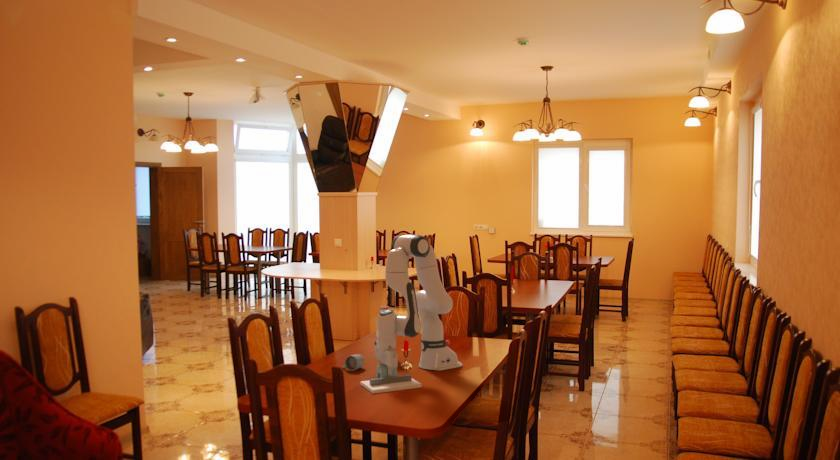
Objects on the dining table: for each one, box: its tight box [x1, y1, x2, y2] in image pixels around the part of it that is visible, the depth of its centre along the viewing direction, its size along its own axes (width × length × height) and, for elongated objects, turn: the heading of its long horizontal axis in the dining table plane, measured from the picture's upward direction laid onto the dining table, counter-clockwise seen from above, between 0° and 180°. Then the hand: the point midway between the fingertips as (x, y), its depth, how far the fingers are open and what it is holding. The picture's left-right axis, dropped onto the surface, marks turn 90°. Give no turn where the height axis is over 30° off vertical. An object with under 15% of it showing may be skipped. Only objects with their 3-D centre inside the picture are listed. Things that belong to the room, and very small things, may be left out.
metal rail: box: [369, 373, 413, 386], centre depth 314 cm, size 20×2×2 cm, turn 115°
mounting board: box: [359, 378, 423, 394], centre depth 314 cm, size 24×16×2 cm, turn 115°
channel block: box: [375, 364, 398, 378], centre depth 327 cm, size 8×6×6 cm
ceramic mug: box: [342, 353, 365, 372], centre depth 346 cm, size 11×8×8 cm
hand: (386, 372), depth 327 cm, fingers closed on channel block, 6 cm apart
